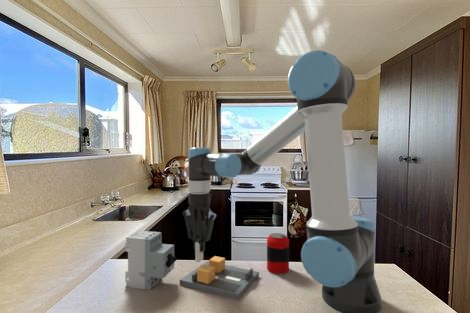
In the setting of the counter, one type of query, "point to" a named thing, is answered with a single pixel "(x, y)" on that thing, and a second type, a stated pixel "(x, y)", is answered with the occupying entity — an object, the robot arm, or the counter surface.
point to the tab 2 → (217, 263)
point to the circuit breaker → (147, 259)
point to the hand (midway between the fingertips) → (199, 260)
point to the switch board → (223, 281)
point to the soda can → (278, 253)
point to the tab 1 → (206, 274)
